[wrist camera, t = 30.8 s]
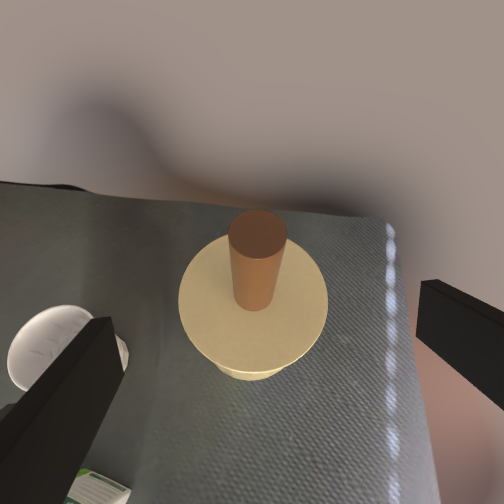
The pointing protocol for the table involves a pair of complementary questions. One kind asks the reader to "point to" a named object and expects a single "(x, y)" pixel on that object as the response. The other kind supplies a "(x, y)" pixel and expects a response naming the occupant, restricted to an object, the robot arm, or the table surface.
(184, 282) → the canister lid
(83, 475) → the syrup box
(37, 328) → the white cup
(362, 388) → the table surface
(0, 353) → the table surface
